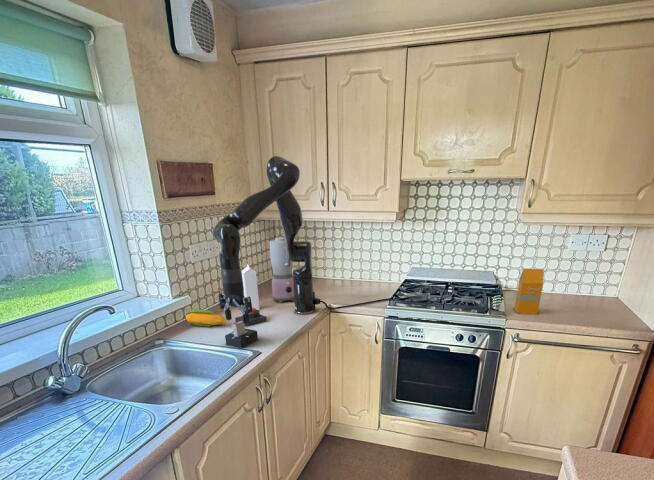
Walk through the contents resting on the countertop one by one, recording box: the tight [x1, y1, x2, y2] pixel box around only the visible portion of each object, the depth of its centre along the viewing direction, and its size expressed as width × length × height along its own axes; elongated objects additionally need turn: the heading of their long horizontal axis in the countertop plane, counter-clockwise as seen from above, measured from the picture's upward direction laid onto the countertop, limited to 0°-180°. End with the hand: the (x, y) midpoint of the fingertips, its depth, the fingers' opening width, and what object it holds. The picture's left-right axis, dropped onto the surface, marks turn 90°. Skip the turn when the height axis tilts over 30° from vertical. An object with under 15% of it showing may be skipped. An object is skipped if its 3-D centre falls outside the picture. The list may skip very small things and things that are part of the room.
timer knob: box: [232, 321, 246, 337], centre depth 159 cm, size 5×2×5 cm, turn 152°
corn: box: [185, 308, 227, 328], centre depth 181 cm, size 7×8×20 cm
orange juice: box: [513, 268, 544, 315], centre depth 190 cm, size 8×9×20 cm
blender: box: [269, 236, 294, 304], centre depth 211 cm, size 16×12×32 cm
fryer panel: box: [224, 328, 259, 349], centre depth 162 cm, size 11×9×4 cm
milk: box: [241, 263, 261, 311], centre depth 200 cm, size 6×6×22 cm
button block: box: [234, 310, 267, 328], centre depth 186 cm, size 11×9×4 cm
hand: (237, 321), depth 158 cm, fingers open, 8 cm apart
